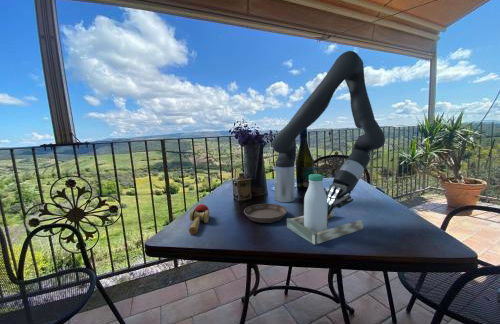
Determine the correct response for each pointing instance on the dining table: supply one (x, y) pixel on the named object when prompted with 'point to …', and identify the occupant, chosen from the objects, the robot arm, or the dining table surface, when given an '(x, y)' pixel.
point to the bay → (325, 235)
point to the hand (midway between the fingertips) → (324, 214)
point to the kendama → (198, 217)
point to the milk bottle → (316, 205)
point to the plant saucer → (265, 213)
